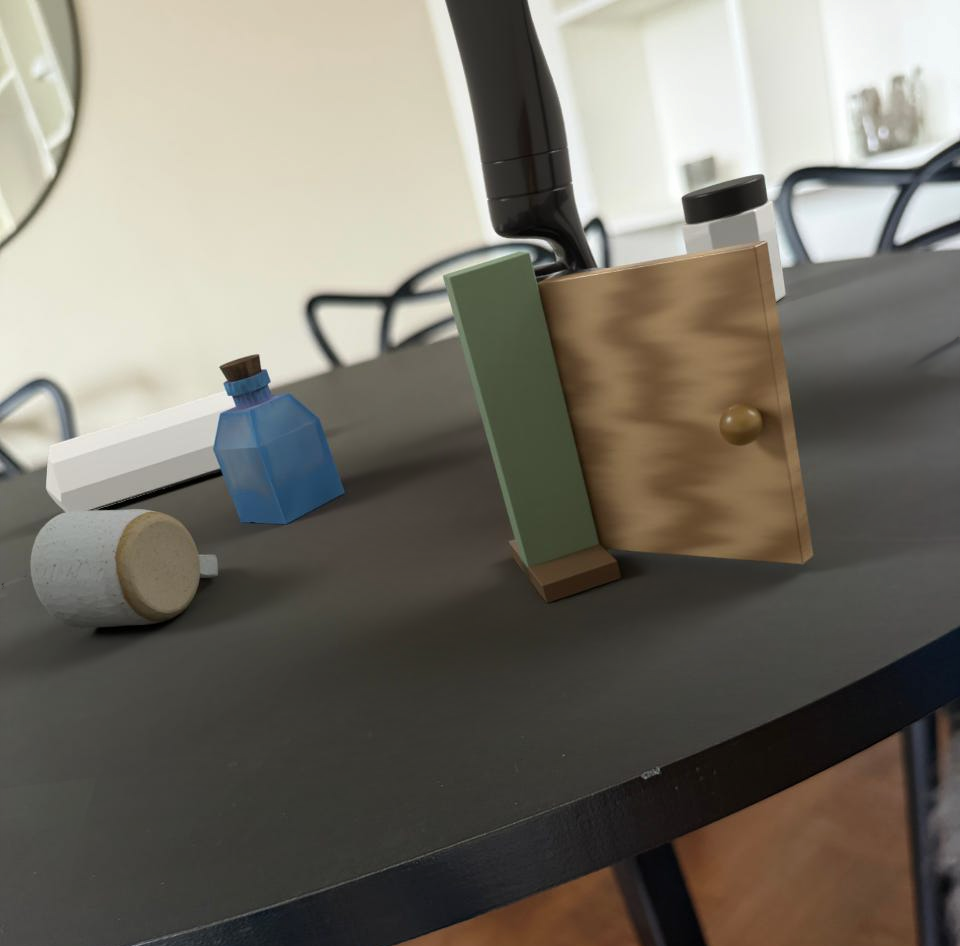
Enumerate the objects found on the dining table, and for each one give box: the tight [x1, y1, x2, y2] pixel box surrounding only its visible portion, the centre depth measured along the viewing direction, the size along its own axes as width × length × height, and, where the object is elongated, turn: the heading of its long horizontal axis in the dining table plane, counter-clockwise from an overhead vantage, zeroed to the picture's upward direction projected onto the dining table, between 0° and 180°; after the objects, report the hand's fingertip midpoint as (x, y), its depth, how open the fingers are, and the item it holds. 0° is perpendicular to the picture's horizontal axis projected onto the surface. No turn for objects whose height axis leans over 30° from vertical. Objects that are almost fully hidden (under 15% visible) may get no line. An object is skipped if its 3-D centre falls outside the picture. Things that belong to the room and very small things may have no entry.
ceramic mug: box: [29, 508, 219, 629], centre depth 67 cm, size 11×8×8 cm
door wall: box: [442, 251, 622, 604], centre depth 52 cm, size 4×8×16 cm, turn 12°
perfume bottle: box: [213, 353, 346, 525], centre depth 80 cm, size 6×6×12 cm
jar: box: [681, 173, 786, 303], centre depth 104 cm, size 9×8×12 cm
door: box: [537, 241, 814, 565], centre depth 47 cm, size 12×3×14 cm, turn 46°
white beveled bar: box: [45, 390, 236, 513], centre depth 103 cm, size 7×7×24 cm
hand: (701, 352), depth 56 cm, fingers closed
